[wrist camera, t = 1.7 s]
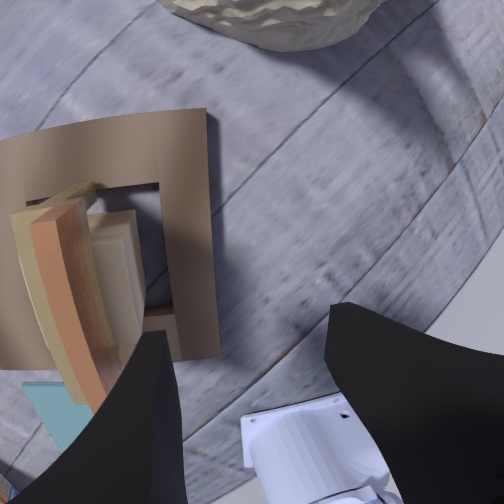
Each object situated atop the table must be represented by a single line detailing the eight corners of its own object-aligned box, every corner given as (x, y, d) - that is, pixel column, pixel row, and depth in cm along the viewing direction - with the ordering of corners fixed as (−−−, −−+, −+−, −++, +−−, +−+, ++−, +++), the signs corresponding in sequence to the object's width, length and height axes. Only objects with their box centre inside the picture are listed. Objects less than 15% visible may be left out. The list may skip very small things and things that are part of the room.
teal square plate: (119, 380, 19) (119, 384, 19) (146, 446, 22) (146, 450, 22) (22, 382, 17) (21, 385, 17) (61, 447, 20) (61, 450, 20)
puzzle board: (204, 109, 15) (206, 107, 14) (218, 346, 20) (221, 356, 19) (-82, 170, 11) (-90, 173, 10) (-26, 360, 16) (-31, 368, 15)
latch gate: (109, 178, 14) (55, 220, 7) (134, 328, 17) (126, 439, 10) (61, 185, 13) (-20, 233, 6) (93, 332, 16) (67, 439, 9)
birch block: (135, 208, 16) (120, 242, 11) (146, 285, 18) (141, 343, 13) (59, 218, 15) (18, 255, 10) (75, 292, 17) (48, 349, 12)
